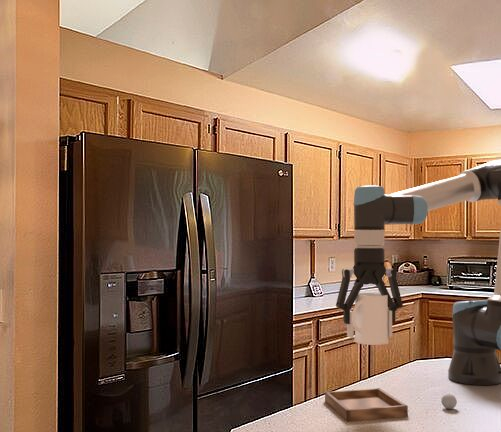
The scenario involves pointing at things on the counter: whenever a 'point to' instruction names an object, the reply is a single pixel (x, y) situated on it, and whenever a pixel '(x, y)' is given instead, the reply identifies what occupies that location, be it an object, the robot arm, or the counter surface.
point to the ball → (449, 401)
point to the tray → (365, 404)
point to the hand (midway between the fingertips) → (369, 336)
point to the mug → (371, 319)
